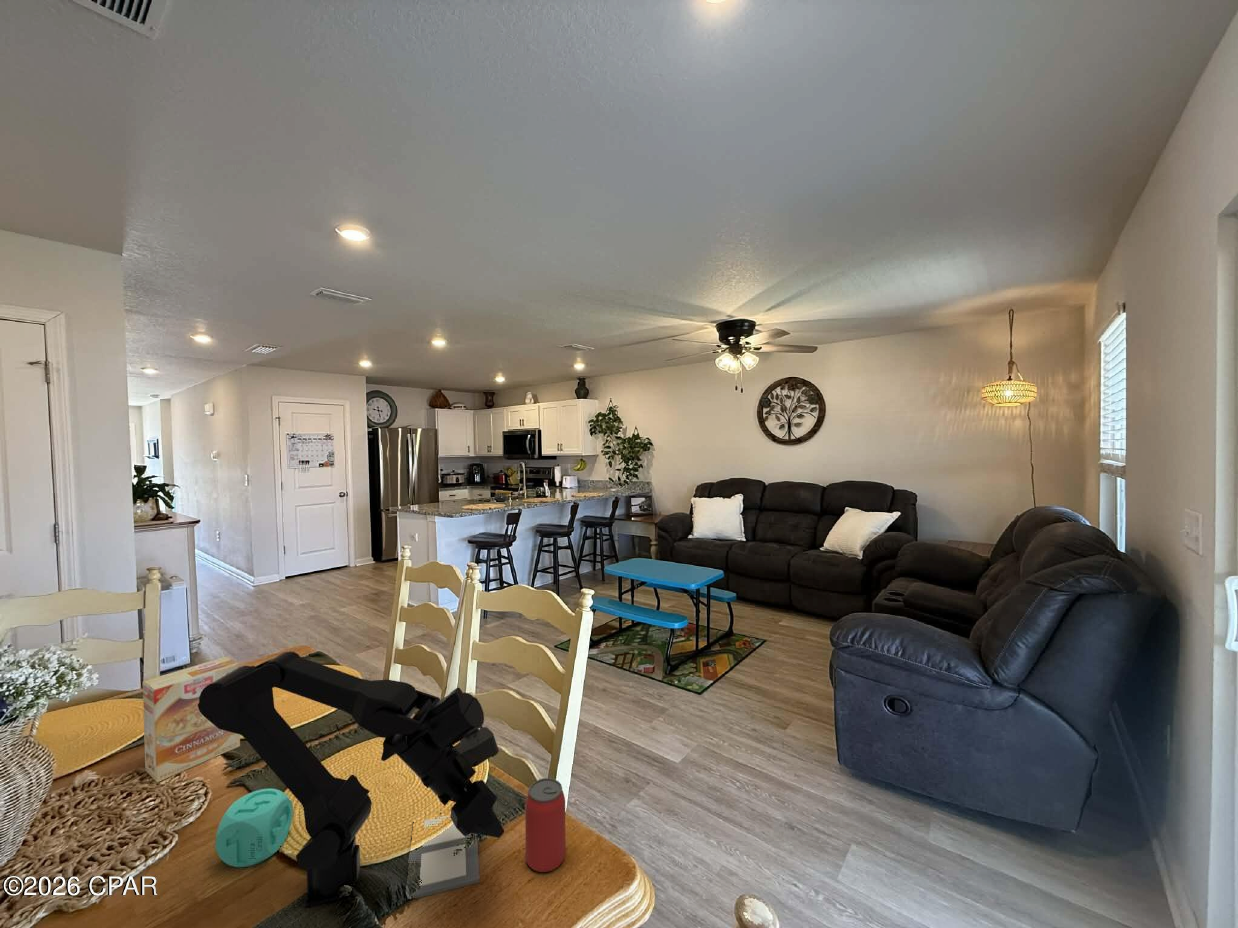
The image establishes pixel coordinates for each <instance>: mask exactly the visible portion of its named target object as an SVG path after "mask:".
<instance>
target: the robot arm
mask: <svg viewBox="0 0 1238 928" xmlns="http://www.w3.org/2000/svg"><path fill="white" fill-rule="evenodd" d="M273 688H278V689H279V690H283V691H285V692H288V693H291V694H293V695H296V696H300V697H302V698H306V699H308V700H311V701H314V702H316V703H320V704H322V705H325V706H328V707H331V708H334V709H335V710H338V711H343V712H345V713H346V714H348V715H350V716H351V717H352V718H353V720H354V722H356V724H357V725H358V726H359V727H360V728H362V729H364V730H366V732H368V733H371V734H372V735H375V736H376V737H379V738H382V739H384V740H383V742H382V755H381V758H380V760H381V761H382V762H385V761H387V760H389V759H390V758H391V757H393V756H395V755H397V757H399V759H400V760H402V762H403V763H404V764H406V766H407V767H409V769H411V771H412V772H413V773H414V774H415V775H416V776H417V777H418V778H419V779H420V781H421V783H422V785H423V786H424V787H426V788H427V789H429V790H431V791H432V792H433V793H434V795H436V797H437V798H438V800H439V801H440V803H441V804H442V805H443V806H446V805H447V804H448V803H449V802H450V801H451V802H453V803H454V804H453V805H452V807H451V808H450V811H451V815H450V818H451V820H452V822H453V823H454V825H455V827H456V828H457V829H458V830H459V831H460V832H461V833H462V834H463V835H464V836H466V835H469V834H477V835H482V836H488V837H494V838H499V839H500V838H501V837H502V836H503V835H504V833H505V829H504V827H503V826H502V824H501V821H499V819H498V818H499V817H498V816H497V815H496V813H495V811H494V805H495V804H496V801H497V799H498V796H497V794H496V793H495V792H494V790H492V789H491V788H490V786H489V785H488V784H487V783H486V782H485V781H484V780H483V779H480V780H476V781H475V780H474V781H473V782H472V780H471V779H472V777H474V775H475V774H476V773H477V770H475V768H474V767H477V766H479V765H480V764H482V763H483V762H485V761H487V760H488V759H490V758H493V757H496V756H497V754H499V752H500V750H499V747H498V743H497V741H496V738H495V735H494V733H493V732H492V730H490V729H489V728H488V727H486V726H483V725H484V721H485V715H484V714H485V713H484V710H483V707H482V704H481V703H480V701H479V699H478V698H477V697H474V695H472V694H471V693H469V692H463V690H462V689H461V688H460V687H459V686H458V687H456V688H455V689H453V690H451V692H450V693H449V694H448V695H447V696H445V697H443V698H442V699H441V698H440V697H438V696H435V695H433V694H430V693H426V692H424V691H421V690H419V689H416V688H415V687H414V686H413V685H411V684H410V683H408V682H405V681H404V682H403V681H399V680H393V679H392V680H391V679H377V680H376V679H375V680H369V679H363V678H361V677H358V676H354V675H353V674H349V673H346V672H344V671H341V670H338V669H335V668H332V667H329V666H327V665H324V664H322V663H318V662H316V661H313V660H309V659H307V658H304V657H301V656H300V655H299V654H298V653H297V652H295V651H285V652H282V653H280V654H278V655H277V656H276V657H273V658H270V659H268V660H266V661H264V662H262V663H260V664H257V665H241V666H238V668H237V669H235V670H234V671H232V672H230V673H229V674H227V675H225V676H223V677H222V678H220V679H218V680H216V681H215V682H213V683H211V684H210V685H208V686H206V687H205V688H204V689H203V690H202V691H201V694H200V696H199V703H198V708H199V711H200V712H201V714H202V715H203V716H204V717H205V718H206V719H208V720H209V721H210V722H211V723H212V724H214V725H215V726H216V727H217V728H219V729H221V730H225V731H228V732H232V733H236V734H240V736H241V737H242V738H244V740H245V741H246V742H247V743H248V744H249V745H250V746H251V748H252V749H253V750H254V751H255V752H256V753H257V754H258V755H259V757H260V758H261V759H262V760H263V761H264V763H265V764H266V765H267V766H268V767H269V769H270V770H271V771H272V772H273V773H274V775H276V776H277V778H278V779H279V780H280V781H281V782H282V784H284V786H285V787H286V788H287V789H288V791H289V792H290V793H292V795H293V796H294V798H295V799H296V800H297V801H298V802H299V803H300V804H301V806H302V809H303V817H304V826H305V830H306V832H307V834H308V835H309V839H308V840H307V842H306V843H305V844H304V845H303V846H302V847H301V849H300V851H298V853H297V854H296V855H295V859H296V862H297V863H298V866H299V868H300V869H301V870H306V891H307V892H306V895H305V898H304V901H303V907H304V908H308V907H313V906H315V905H319V904H320V905H321V904H323V903H328V902H332V901H336V899H337V900H339V899H338V898H339V897H340V895H338V894H337V893H338V890H339V889H340V887H342V886H344V885H349V886H351V887H353V885H354V886H355V883H356V882H357V881H358V878H359V875H360V870H361V851H360V850H361V849H360V848H361V847H360V845H359V844H356V836H357V834H358V833H359V831H361V828H362V827H363V825H365V823H366V821H367V820H368V818H369V817H370V814H371V813H372V805H373V802H372V799H371V797H370V796H369V793H370V790H369V789H368V788H366V787H364V786H363V785H362V784H361V782H360V780H359V779H358V777H357V776H356V775H354V774H350V776H349V777H348V778H347V779H345V778H340V777H335V776H333V775H332V773H330V771H329V770H328V769H327V768H326V767H325V766H324V764H323V763H322V762H321V761H320V760H319V758H318V757H317V756H316V755H315V754H314V753H313V752H312V751H311V749H310V748H309V747H308V746H307V744H306V743H305V742H304V741H303V740H302V739H301V737H300V736H299V735H298V734H297V733H296V732H295V731H294V730H293V728H292V727H291V726H290V725H289V724H288V723H287V722H286V721H285V719H284V718H283V716H281V713H279V712H278V711H277V709H276V707H275V698H274V689H273ZM413 715H414V716H413ZM412 716H413V717H412ZM354 882H355V883H354ZM353 888H354V887H353Z"/></svg>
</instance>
